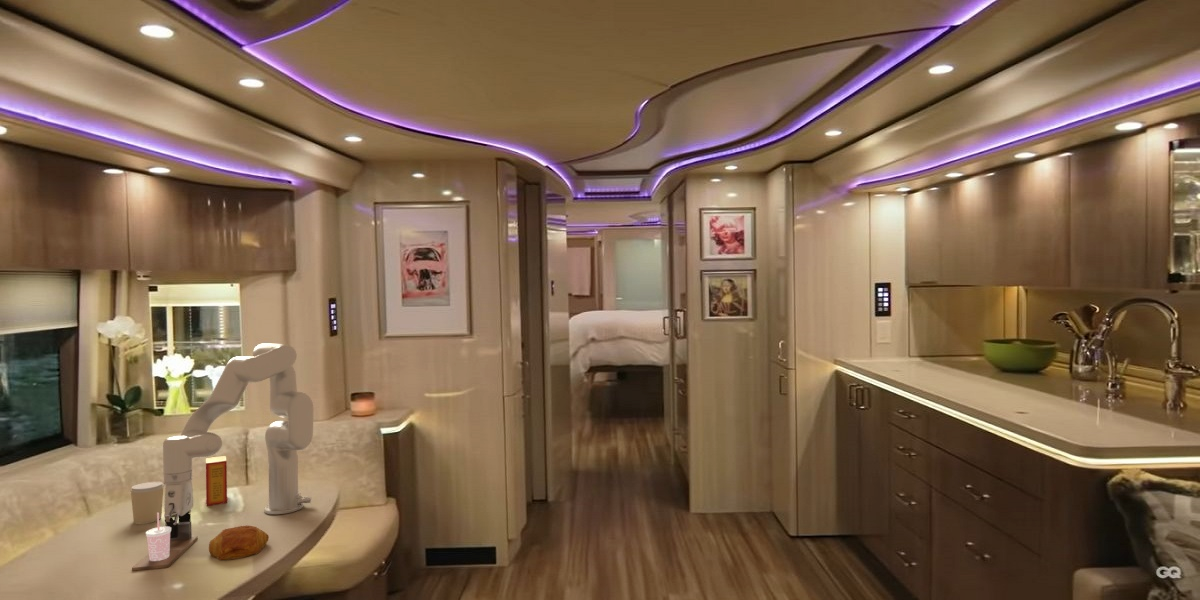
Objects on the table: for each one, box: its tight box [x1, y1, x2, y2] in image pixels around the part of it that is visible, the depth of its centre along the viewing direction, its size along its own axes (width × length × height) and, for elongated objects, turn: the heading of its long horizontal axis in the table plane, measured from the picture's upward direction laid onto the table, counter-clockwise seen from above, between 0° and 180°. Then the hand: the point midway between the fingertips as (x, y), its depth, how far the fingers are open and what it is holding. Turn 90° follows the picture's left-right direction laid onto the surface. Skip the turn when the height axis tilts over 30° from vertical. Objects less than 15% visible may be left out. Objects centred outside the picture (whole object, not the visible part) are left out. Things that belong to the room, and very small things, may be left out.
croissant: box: [208, 525, 269, 561], centre depth 193 cm, size 14×16×8 cm
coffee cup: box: [130, 481, 165, 525], centre depth 221 cm, size 9×9×12 cm
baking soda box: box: [205, 455, 228, 507], centre depth 241 cm, size 10×6×16 cm
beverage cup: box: [145, 513, 171, 561], centre depth 186 cm, size 6×6×14 cm
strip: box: [131, 521, 199, 571], centre depth 191 cm, size 9×22×6 cm, turn 13°
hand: (178, 532), depth 200 cm, fingers open, 9 cm apart
